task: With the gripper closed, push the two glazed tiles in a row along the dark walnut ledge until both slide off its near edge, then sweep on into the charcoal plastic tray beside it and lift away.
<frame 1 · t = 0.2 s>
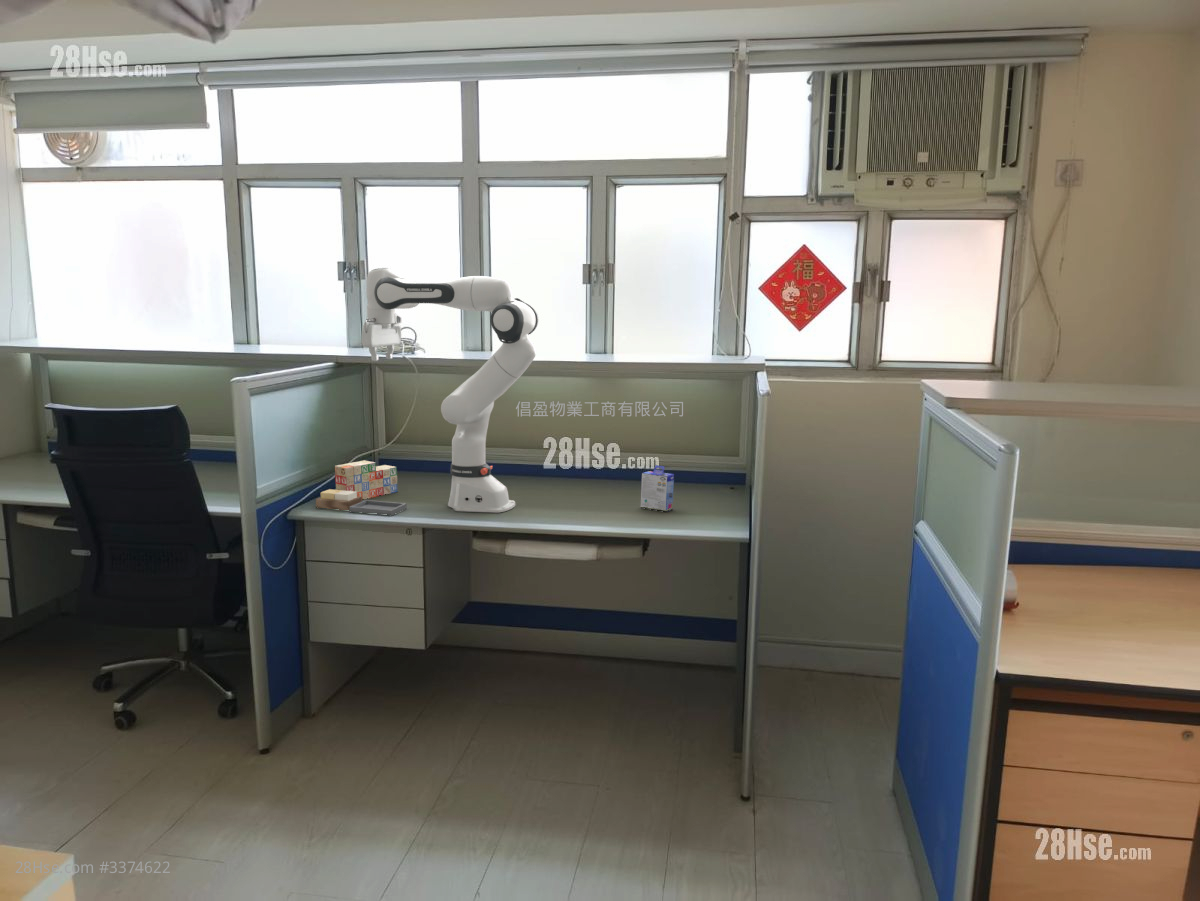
hand: (382, 359, 272), 48 cm above the table, tool pointing down, fingers open, 8 cm apart
cream tile: (345, 498, 266), point 3 cm above the table, touching walnut ledge
ink cartridge box: (656, 509, 272), on the table
ochre tile: (331, 497, 267), point 3 cm above the table, touching walnut ledge
stack of blocks: (367, 496, 283), on the table
walnut ledge: (339, 506, 267), on the table
tray: (378, 510, 263), on the table
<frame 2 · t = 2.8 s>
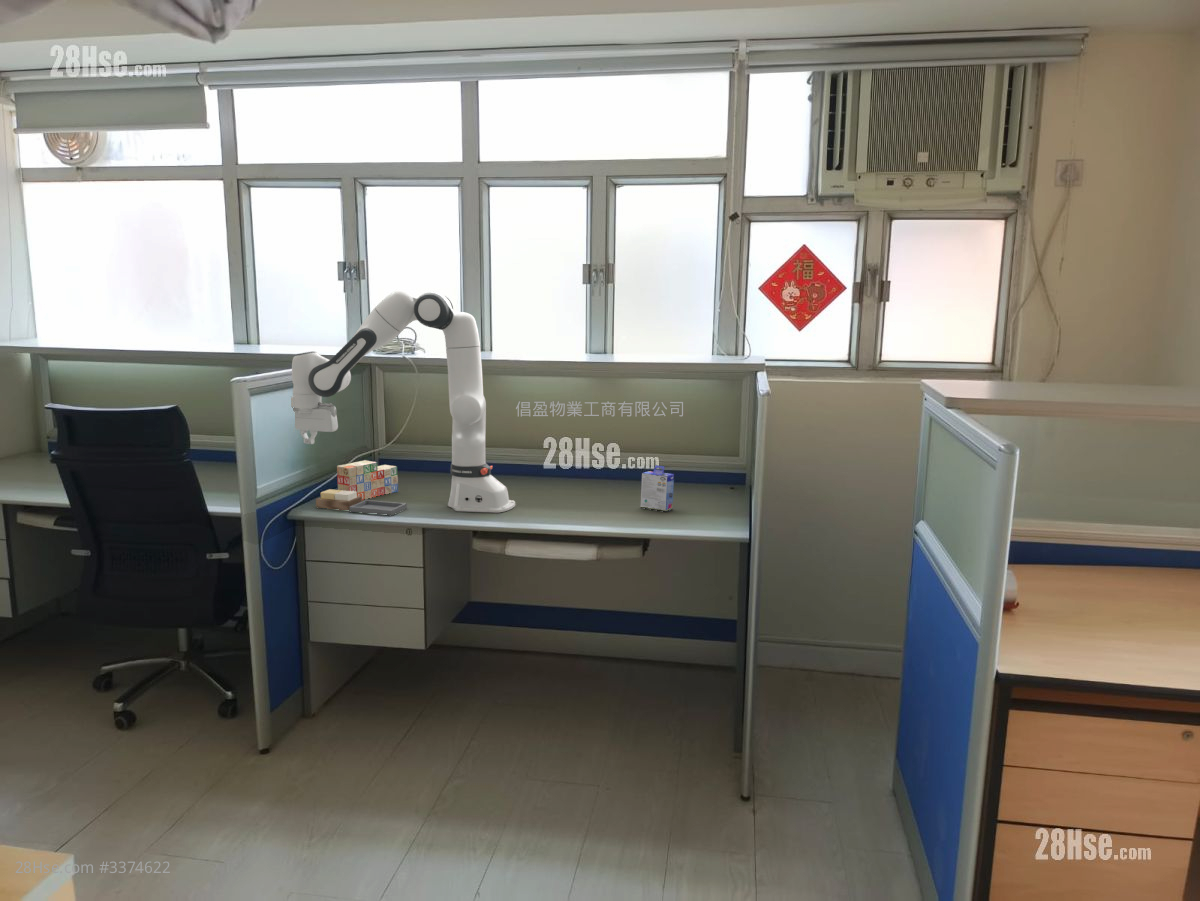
hand: (309, 443, 266), 20 cm above the table, tool pointing down, fingers closed
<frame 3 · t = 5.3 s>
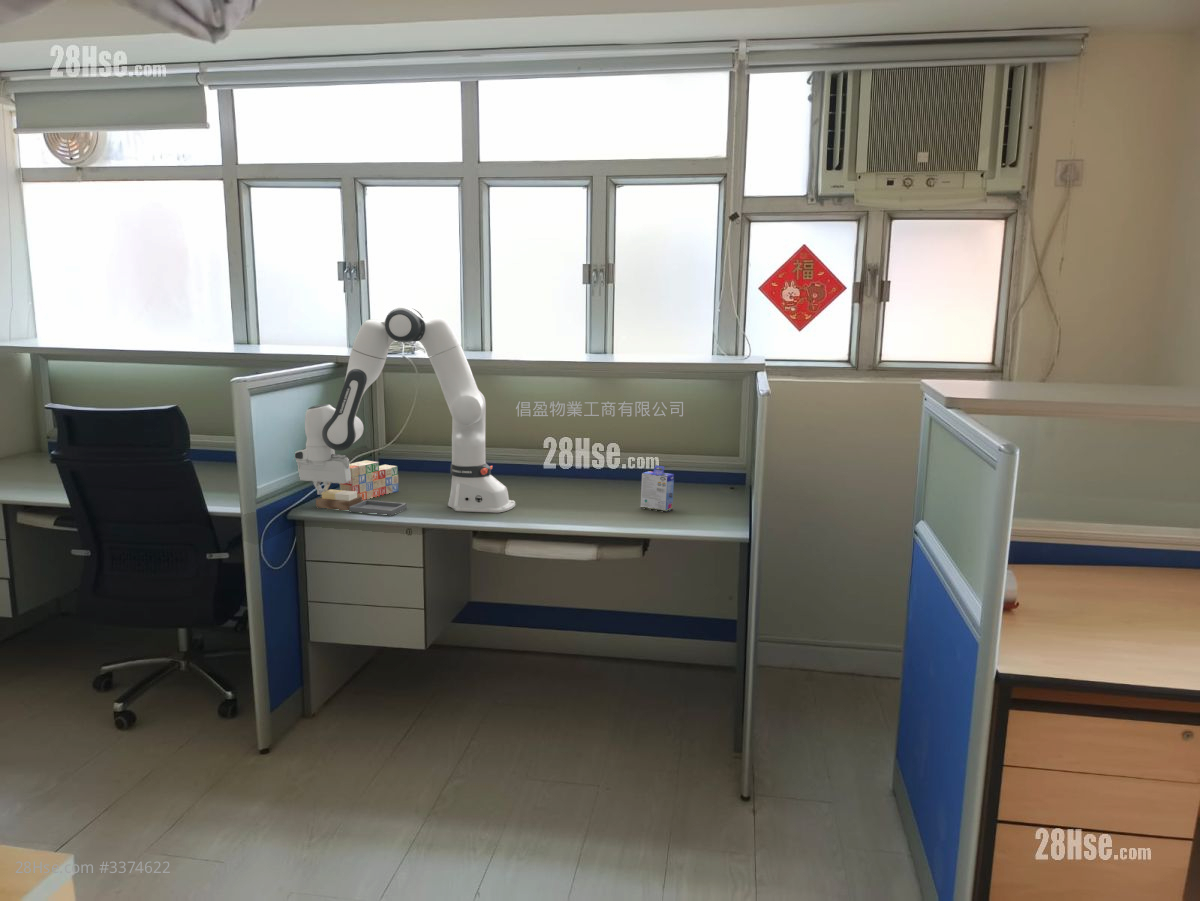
hand: (322, 494, 268), 4 cm above the table, tool pointing down, fingers closed
cream tile: (346, 498, 266), point 3 cm above the table, touching ochre tile
ochre tile: (332, 497, 267), point 3 cm above the table, touching cream tile, gripper
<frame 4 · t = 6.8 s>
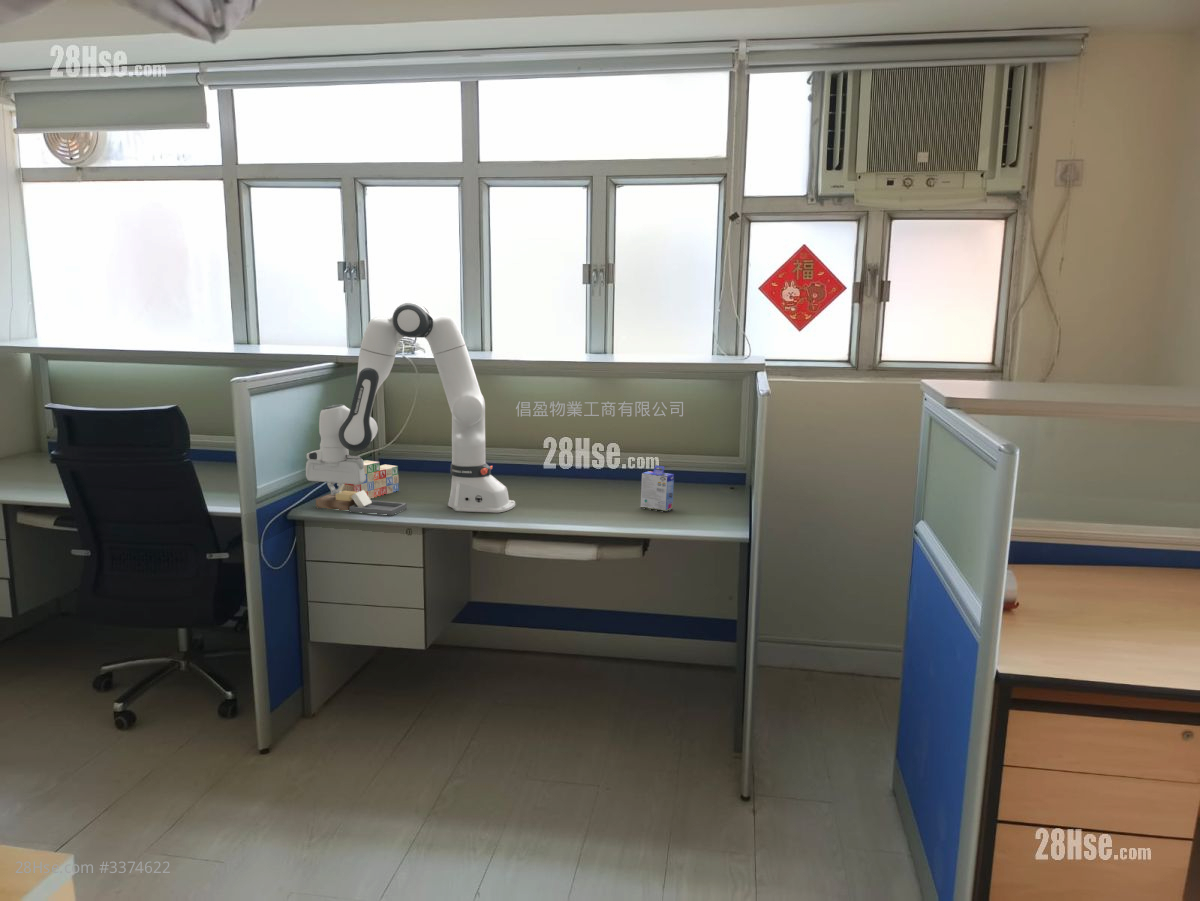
hand: (336, 495, 267), 4 cm above the table, tool pointing down, fingers closed
cream tile: (359, 501, 264), point 3 cm above the table, tilted 54°, touching tray
ochre tile: (346, 498, 265), point 3 cm above the table, touching gripper, walnut ledge
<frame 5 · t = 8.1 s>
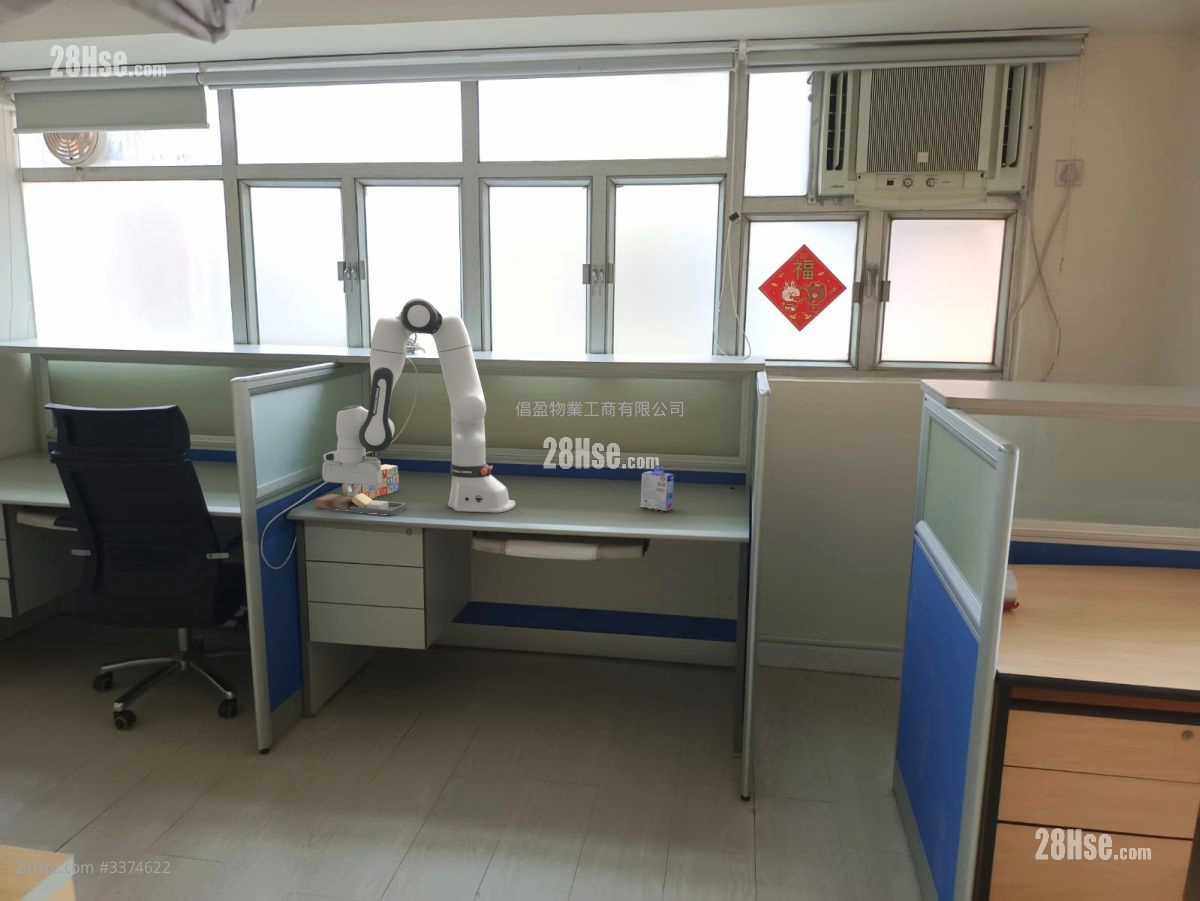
hand: (353, 496, 265), 4 cm above the table, tool pointing down, fingers closed
cream tile: (377, 502, 263), point 3 cm above the table, tilted 180°, touching ochre tile
ochre tile: (361, 503, 264), point 2 cm above the table, tilted 30°, touching cream tile, gripper
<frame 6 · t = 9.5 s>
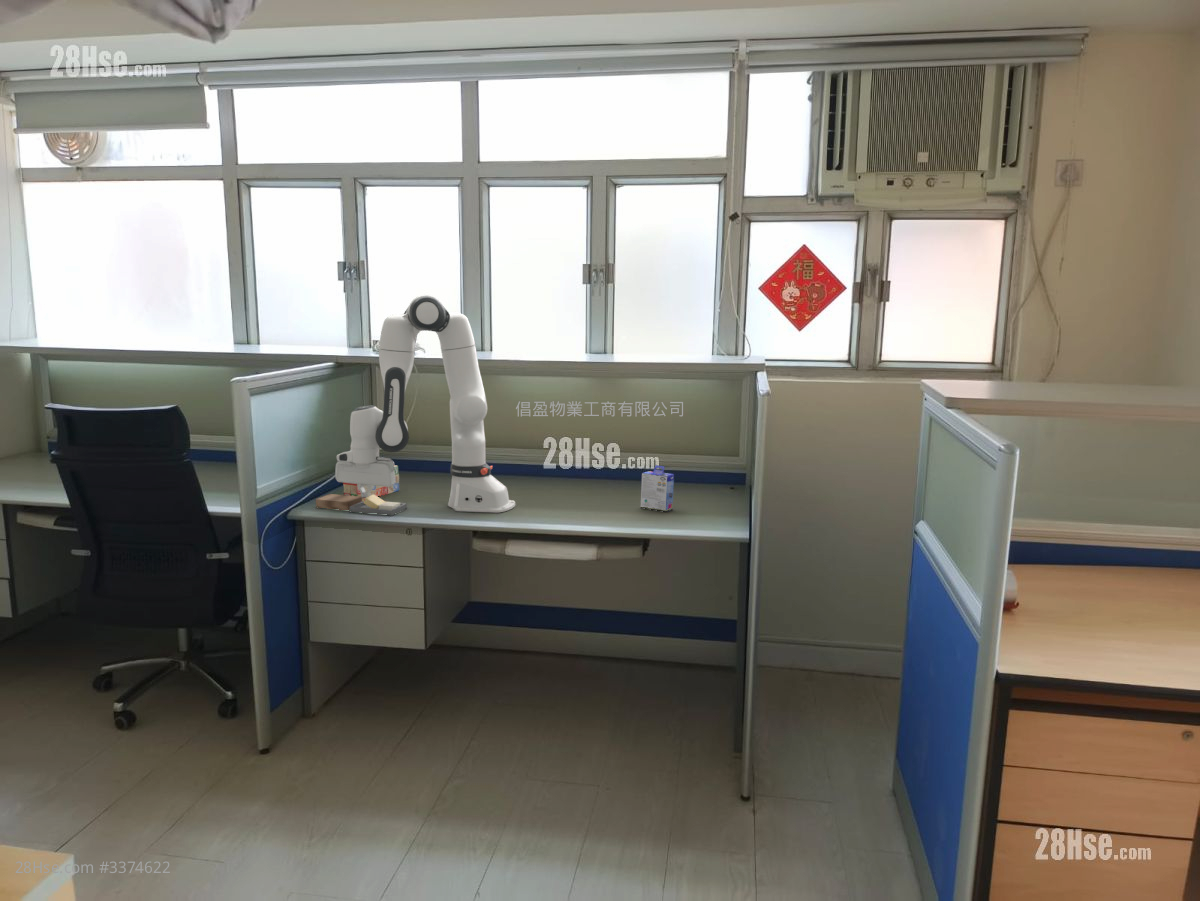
hand: (365, 497, 264), 4 cm above the table, tool pointing down, fingers closed
cream tile: (389, 503, 261), point 3 cm above the table, tilted 180°, touching ochre tile, tray
ochre tile: (373, 505, 263), point 2 cm above the table, tilted 26°, touching cream tile, gripper
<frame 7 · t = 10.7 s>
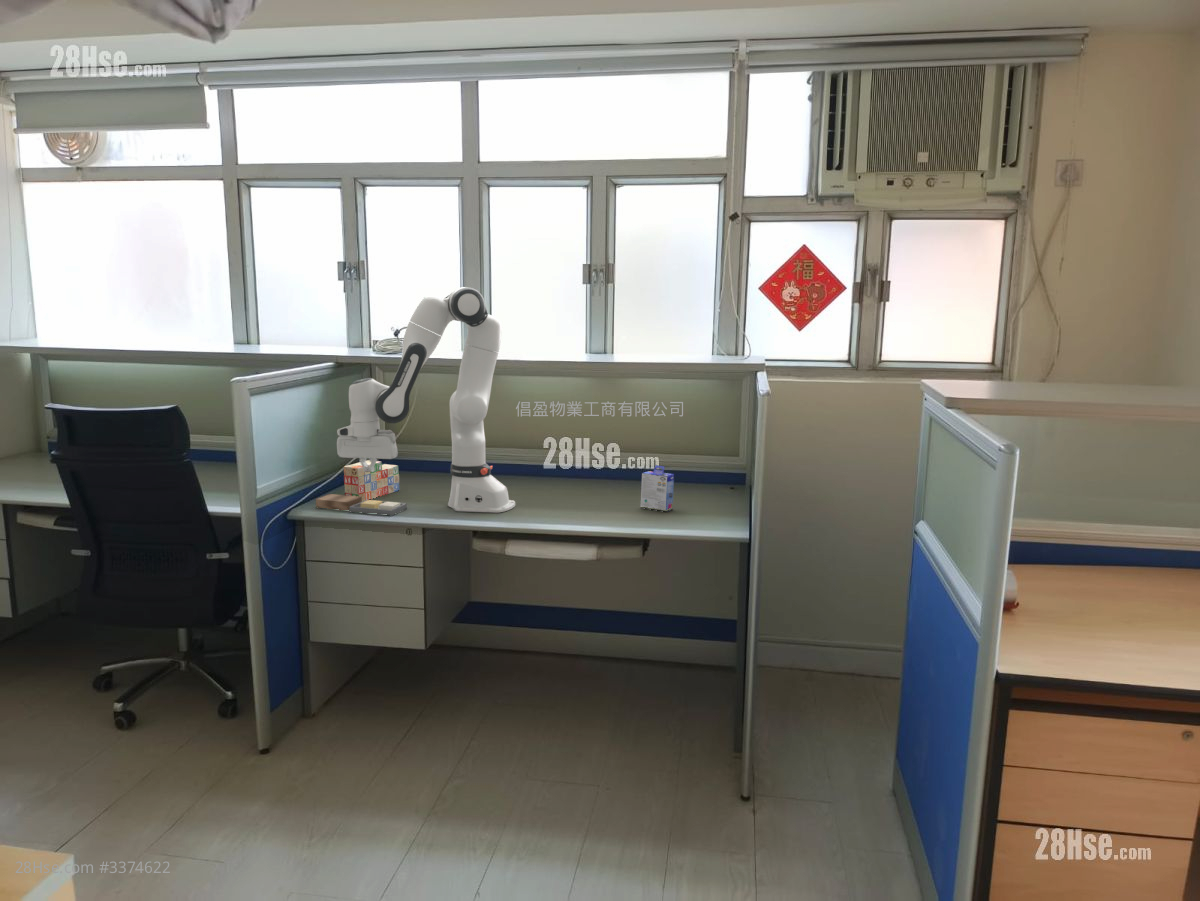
hand: (369, 471, 262), 13 cm above the table, tool pointing down, fingers closed
cream tile: (389, 503, 261), point 3 cm above the table, tilted 180°, touching tray
ochre tile: (371, 508, 264), point 1 cm above the table, touching tray
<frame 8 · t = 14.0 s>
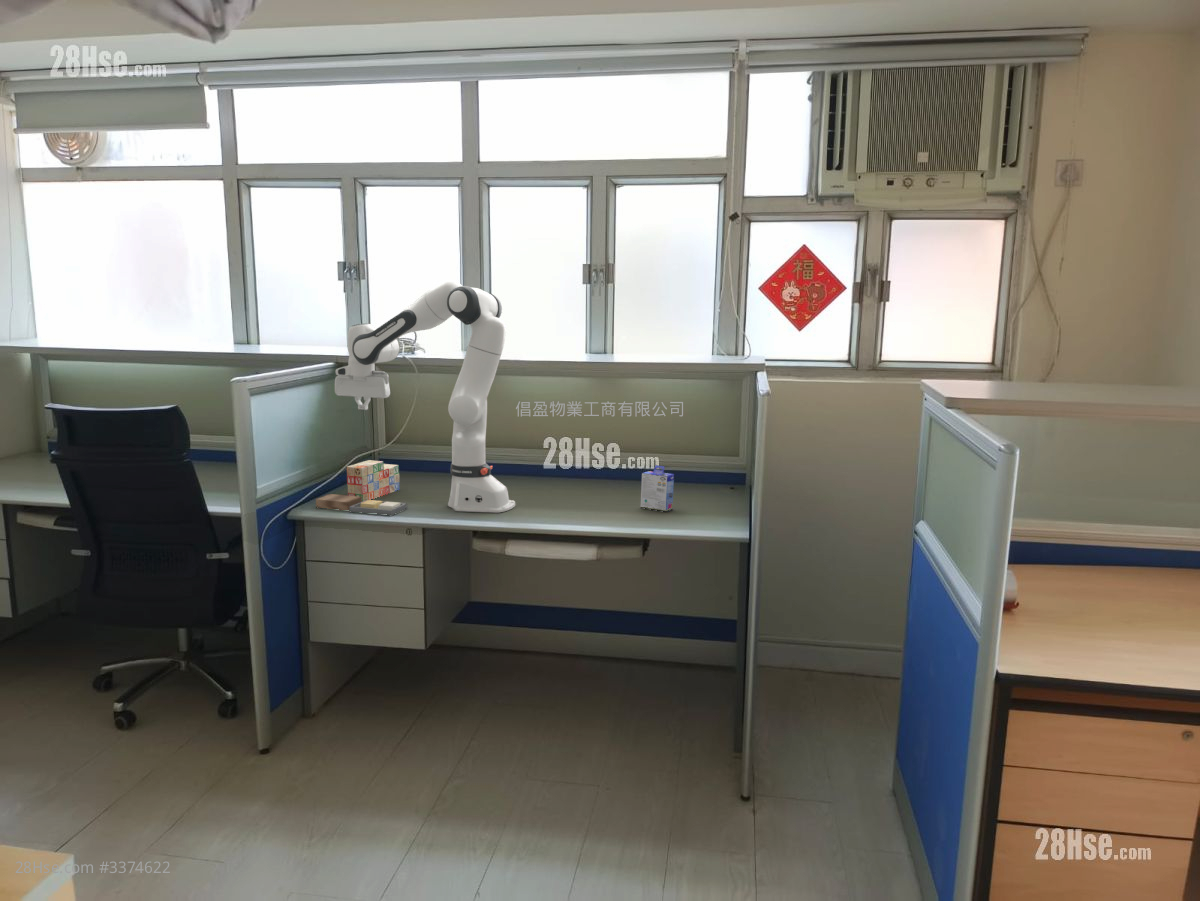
hand: (363, 409, 286), 29 cm above the table, tool pointing down, fingers closed
at the end: cream tile inside the target area on the tray (4.2 cm from its centre), point 2.6 cm above the tray's base; ochre tile inside the target area on the tray (2.4 cm from its centre), point 0.6 cm above the tray's base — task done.
